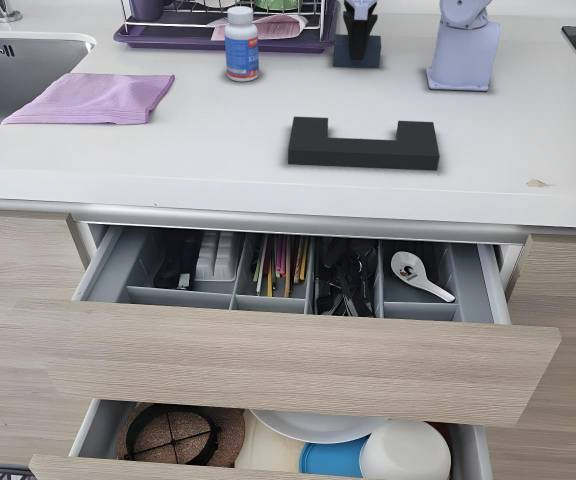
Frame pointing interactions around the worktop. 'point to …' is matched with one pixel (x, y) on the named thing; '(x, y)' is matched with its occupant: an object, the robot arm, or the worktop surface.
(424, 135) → the black u-shaped block
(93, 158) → the worktop surface
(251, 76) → the pill bottle
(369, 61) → the dark blue block
